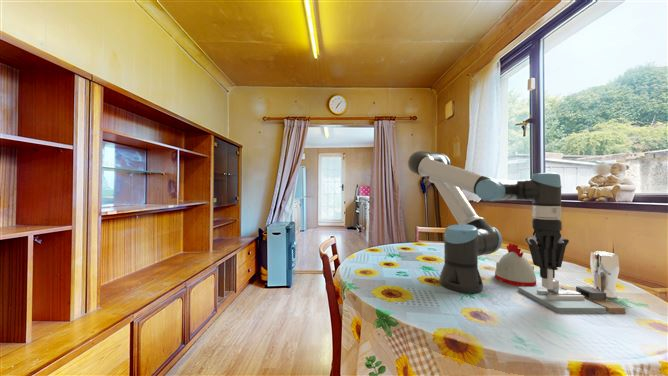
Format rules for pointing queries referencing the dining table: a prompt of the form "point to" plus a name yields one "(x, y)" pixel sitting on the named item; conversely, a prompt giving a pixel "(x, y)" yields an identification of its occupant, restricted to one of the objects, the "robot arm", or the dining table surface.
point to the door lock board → (573, 300)
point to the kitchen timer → (515, 268)
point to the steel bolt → (556, 291)
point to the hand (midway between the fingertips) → (547, 287)
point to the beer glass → (605, 272)
